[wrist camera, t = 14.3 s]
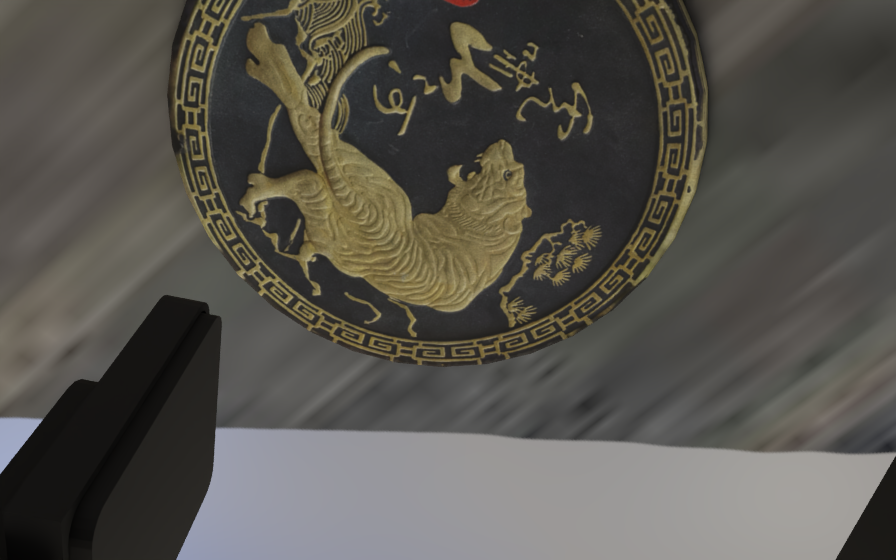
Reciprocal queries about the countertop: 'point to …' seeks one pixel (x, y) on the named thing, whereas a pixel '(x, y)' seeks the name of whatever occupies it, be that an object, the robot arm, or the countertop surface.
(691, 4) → the countertop surface
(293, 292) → the decorative plate
